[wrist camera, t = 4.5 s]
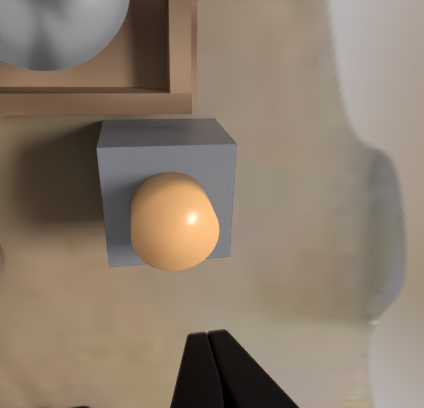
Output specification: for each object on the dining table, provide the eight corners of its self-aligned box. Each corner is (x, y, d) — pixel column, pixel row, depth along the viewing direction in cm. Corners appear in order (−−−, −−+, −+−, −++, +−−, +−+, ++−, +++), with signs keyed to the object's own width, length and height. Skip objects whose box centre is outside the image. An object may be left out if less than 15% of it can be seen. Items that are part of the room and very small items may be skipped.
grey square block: (211, 214, 19) (229, 256, 16) (112, 220, 19) (109, 267, 15) (214, 118, 17) (236, 144, 14) (103, 120, 16) (96, 147, 13)
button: (207, 238, 15) (217, 267, 14) (133, 244, 15) (133, 274, 13) (209, 170, 14) (221, 192, 12) (128, 173, 13) (128, 196, 12)
